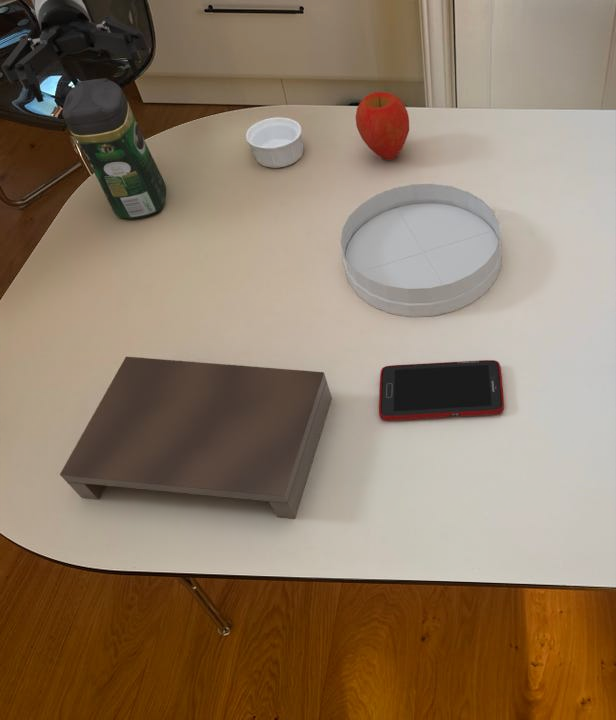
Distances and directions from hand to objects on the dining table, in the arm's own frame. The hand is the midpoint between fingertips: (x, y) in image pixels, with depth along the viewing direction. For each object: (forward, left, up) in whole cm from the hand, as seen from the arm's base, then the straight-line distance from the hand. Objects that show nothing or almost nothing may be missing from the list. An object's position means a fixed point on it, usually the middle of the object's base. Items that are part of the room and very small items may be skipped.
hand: (86, 80), depth 102 cm
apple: (+41, +8, -16) cm, 45 cm away
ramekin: (+23, +7, -16) cm, 29 cm away
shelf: (+32, -49, -16) cm, 61 cm away
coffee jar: (+5, -7, -16) cm, 18 cm away
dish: (+51, -16, -16) cm, 56 cm away
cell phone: (+57, -39, -16) cm, 71 cm away
